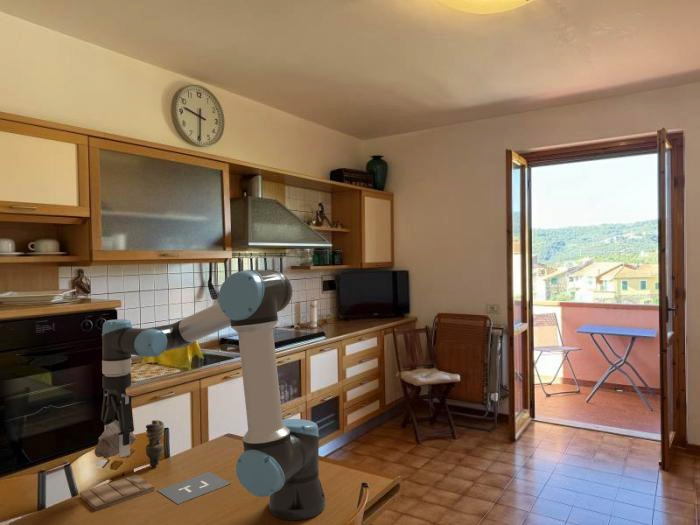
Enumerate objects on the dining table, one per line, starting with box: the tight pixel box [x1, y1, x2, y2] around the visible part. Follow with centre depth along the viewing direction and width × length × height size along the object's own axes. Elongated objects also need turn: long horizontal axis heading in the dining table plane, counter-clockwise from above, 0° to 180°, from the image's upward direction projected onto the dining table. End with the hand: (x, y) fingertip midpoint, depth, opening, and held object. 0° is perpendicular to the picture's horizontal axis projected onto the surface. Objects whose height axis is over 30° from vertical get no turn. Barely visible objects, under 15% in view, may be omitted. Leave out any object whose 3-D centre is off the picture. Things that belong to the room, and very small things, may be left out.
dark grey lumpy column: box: [145, 419, 165, 468], centre depth 160 cm, size 6×6×15 cm
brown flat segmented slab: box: [79, 474, 155, 512], centre depth 142 cm, size 12×16×1 cm
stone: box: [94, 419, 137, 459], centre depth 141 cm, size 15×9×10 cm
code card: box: [157, 471, 232, 505], centre depth 145 cm, size 12×17×1 cm
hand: (117, 451), depth 142 cm, fingers closed on stone, 10 cm apart
